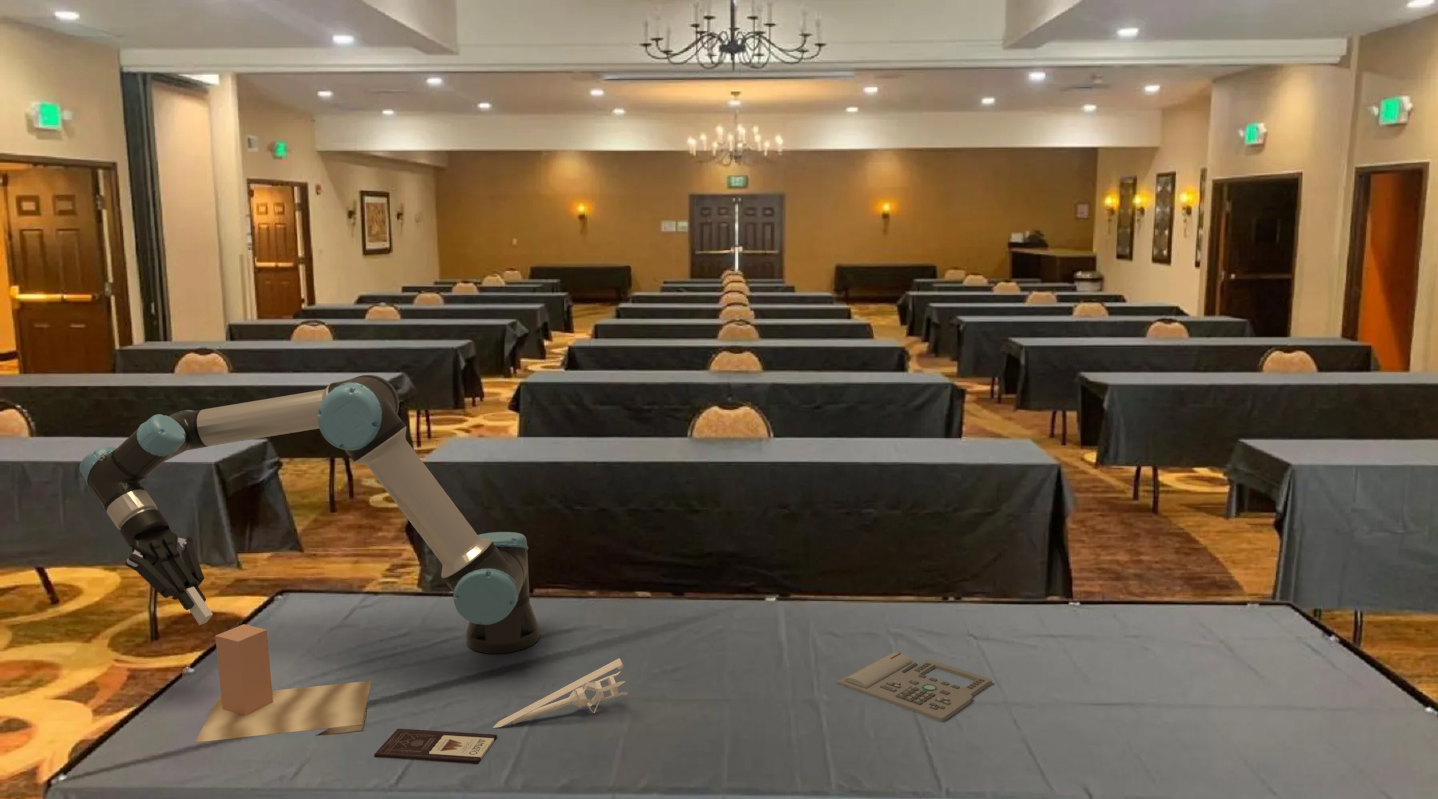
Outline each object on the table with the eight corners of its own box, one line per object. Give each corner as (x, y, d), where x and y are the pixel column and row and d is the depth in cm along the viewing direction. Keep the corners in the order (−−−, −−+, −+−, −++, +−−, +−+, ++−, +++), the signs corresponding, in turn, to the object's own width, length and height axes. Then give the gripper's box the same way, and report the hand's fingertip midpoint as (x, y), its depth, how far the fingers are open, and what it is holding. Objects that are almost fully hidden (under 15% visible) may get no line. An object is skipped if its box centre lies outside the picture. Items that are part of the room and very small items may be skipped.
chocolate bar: (397, 728, 186) (496, 734, 183) (398, 733, 186) (497, 739, 183) (374, 754, 177) (477, 761, 174) (374, 759, 177) (478, 766, 174)
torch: (515, 763, 191) (640, 697, 194) (497, 743, 184) (626, 674, 187) (506, 734, 195) (629, 670, 198) (487, 713, 189) (614, 647, 192)
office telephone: (835, 674, 202) (894, 642, 216) (835, 687, 202) (894, 655, 217) (942, 711, 186) (998, 674, 201) (942, 725, 187) (998, 687, 201)
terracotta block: (222, 709, 192) (215, 635, 190) (250, 695, 197) (243, 624, 195) (245, 715, 189) (238, 641, 187) (273, 702, 195) (266, 629, 192)
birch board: (372, 686, 203) (371, 680, 203) (362, 730, 186) (361, 724, 186) (220, 702, 198) (219, 695, 197) (195, 748, 180) (194, 742, 180)
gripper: (162, 522, 207) (228, 619, 202) (97, 541, 195) (165, 643, 191) (178, 499, 203) (245, 596, 199) (113, 517, 192) (182, 620, 187)
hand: (206, 619), depth 195 cm, fingers closed
